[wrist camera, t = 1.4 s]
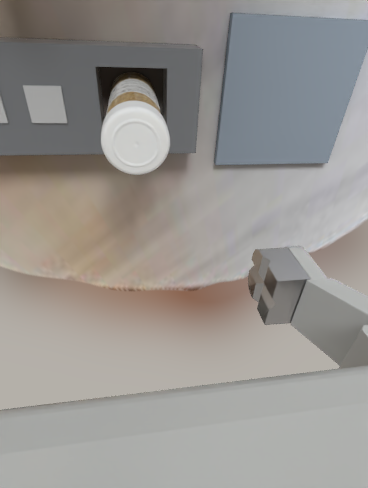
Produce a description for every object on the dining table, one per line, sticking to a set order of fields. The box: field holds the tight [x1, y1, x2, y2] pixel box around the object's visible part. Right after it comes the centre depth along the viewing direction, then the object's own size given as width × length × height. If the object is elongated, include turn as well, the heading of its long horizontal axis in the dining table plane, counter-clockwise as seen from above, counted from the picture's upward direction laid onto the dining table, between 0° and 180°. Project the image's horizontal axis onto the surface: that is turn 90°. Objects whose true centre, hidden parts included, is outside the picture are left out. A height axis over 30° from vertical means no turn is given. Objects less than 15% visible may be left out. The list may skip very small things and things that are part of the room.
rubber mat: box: [214, 13, 368, 165], centre depth 32 cm, size 14×14×1 cm
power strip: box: [0, 37, 203, 155], centre depth 28 cm, size 9×24×4 cm, turn 88°
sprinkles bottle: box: [101, 72, 170, 175], centre depth 25 cm, size 5×5×13 cm
